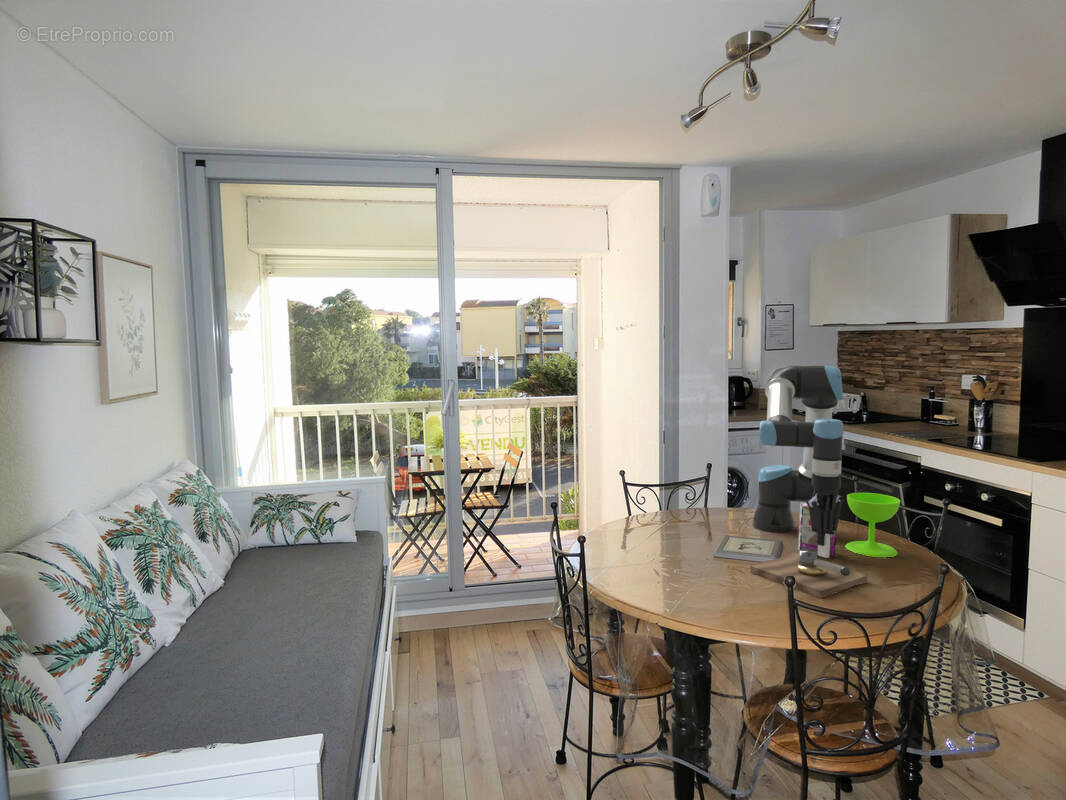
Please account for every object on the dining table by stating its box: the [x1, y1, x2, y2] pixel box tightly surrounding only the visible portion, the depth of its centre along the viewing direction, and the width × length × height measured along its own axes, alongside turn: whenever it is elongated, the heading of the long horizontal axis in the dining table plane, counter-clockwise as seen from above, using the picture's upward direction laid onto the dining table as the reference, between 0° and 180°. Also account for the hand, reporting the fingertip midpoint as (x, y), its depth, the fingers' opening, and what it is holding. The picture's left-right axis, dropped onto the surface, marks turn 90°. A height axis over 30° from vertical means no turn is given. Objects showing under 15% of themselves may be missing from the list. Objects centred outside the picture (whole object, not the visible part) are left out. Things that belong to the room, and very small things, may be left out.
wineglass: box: [844, 492, 901, 559], centre depth 218 cm, size 16×16×18 cm
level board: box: [749, 552, 868, 599], centre depth 195 cm, size 24×22×2 cm
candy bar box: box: [797, 502, 837, 557], centre depth 216 cm, size 11×5×16 cm, turn 74°
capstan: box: [798, 548, 851, 576], centre depth 190 cm, size 16×8×6 cm, turn 32°
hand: (823, 556), depth 184 cm, fingers closed
